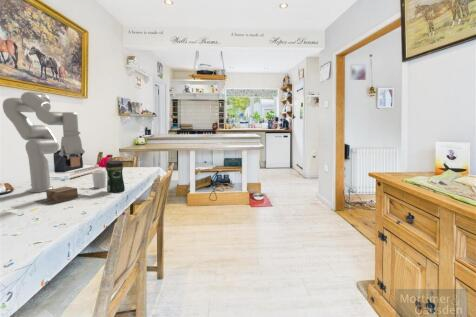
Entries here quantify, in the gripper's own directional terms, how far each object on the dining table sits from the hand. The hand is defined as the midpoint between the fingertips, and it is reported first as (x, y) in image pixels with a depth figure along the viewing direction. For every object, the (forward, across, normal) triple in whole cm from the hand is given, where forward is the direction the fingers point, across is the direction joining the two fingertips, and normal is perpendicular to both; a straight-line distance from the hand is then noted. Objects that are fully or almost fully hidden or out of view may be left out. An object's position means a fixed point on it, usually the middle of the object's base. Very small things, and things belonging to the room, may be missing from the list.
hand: (73, 165), depth 161 cm
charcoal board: (+17, +14, +11) cm, 25 cm away
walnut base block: (+15, +14, +11) cm, 24 cm away
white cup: (+17, -18, -3) cm, 25 cm away
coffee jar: (+17, -14, +17) cm, 28 cm away
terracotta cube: (+1, 0, 0) cm, 1 cm away
